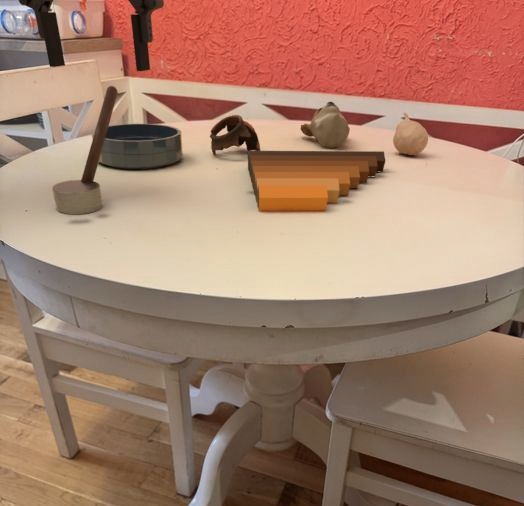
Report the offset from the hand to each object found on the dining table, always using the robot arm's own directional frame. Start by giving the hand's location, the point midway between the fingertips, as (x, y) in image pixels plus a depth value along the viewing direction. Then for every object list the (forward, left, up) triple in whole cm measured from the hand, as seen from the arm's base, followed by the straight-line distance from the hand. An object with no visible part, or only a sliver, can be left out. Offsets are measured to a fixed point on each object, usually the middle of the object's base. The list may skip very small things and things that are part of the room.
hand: (99, 68), depth 71 cm
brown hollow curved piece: (+12, +29, -17) cm, 35 cm away
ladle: (0, -5, -17) cm, 17 cm away
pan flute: (+33, +12, -17) cm, 39 cm away
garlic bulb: (+46, +41, -17) cm, 63 cm away
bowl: (-4, +18, -17) cm, 25 cm away
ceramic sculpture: (+28, +46, -17) cm, 56 cm away
